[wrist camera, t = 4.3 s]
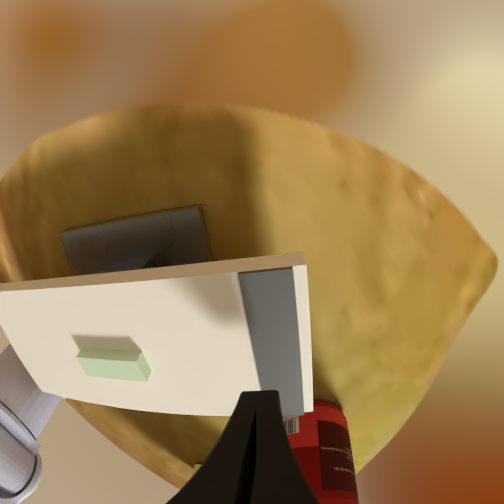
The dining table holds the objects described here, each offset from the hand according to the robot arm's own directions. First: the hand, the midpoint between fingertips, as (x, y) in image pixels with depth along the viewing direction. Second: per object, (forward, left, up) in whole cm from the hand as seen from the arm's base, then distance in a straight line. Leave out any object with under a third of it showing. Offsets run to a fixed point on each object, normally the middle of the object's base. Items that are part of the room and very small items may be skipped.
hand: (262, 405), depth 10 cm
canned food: (-8, -12, -9) cm, 17 cm away
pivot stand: (-6, +5, -8) cm, 12 cm away
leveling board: (-6, +5, -4) cm, 9 cm away
